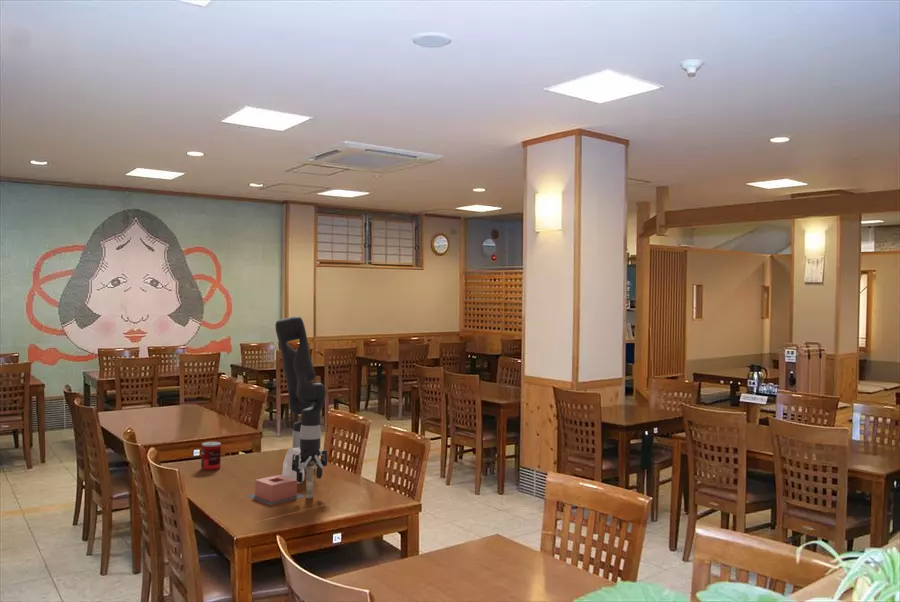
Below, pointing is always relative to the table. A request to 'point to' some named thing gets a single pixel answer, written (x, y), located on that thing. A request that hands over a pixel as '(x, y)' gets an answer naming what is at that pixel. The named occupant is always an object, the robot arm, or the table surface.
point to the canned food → (211, 456)
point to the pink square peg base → (275, 488)
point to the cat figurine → (288, 464)
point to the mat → (274, 501)
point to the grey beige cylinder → (310, 480)
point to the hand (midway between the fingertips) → (309, 480)
